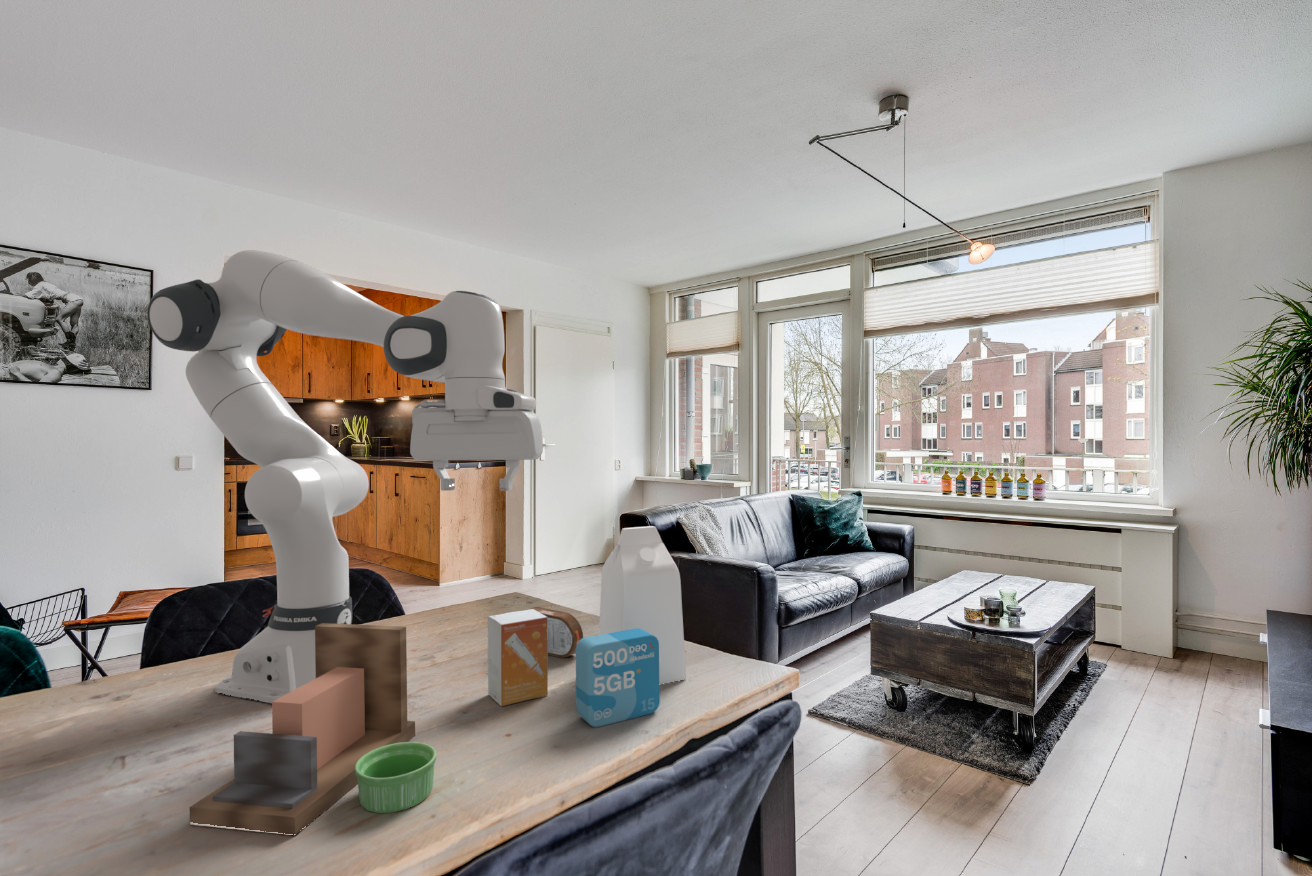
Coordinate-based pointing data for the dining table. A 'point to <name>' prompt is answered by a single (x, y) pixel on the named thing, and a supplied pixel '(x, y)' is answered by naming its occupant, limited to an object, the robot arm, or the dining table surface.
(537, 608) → the tin
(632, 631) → the data package
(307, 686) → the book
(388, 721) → the shelf stand
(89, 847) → the dining table surface
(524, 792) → the dining table surface
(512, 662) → the small box
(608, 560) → the milk
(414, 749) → the ramekin
